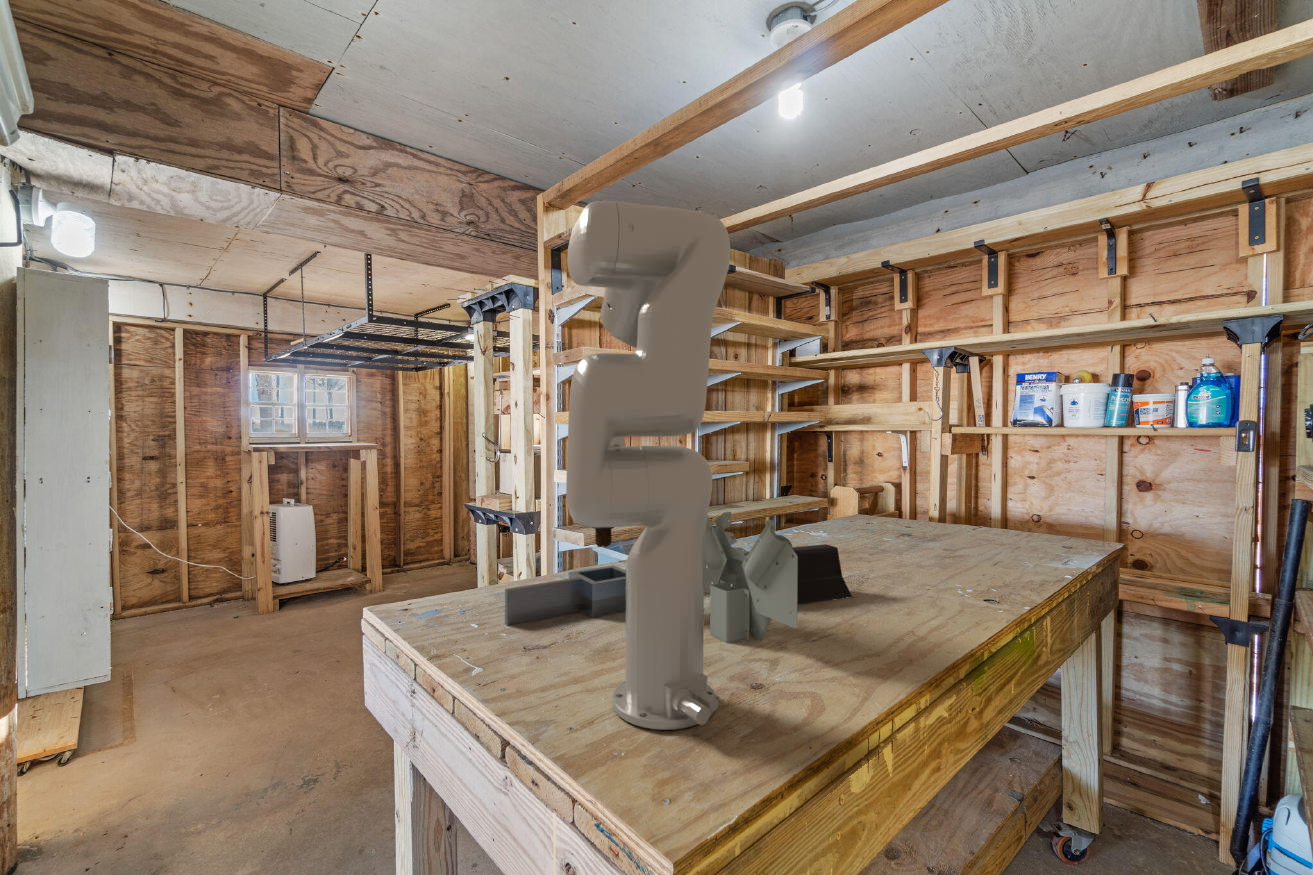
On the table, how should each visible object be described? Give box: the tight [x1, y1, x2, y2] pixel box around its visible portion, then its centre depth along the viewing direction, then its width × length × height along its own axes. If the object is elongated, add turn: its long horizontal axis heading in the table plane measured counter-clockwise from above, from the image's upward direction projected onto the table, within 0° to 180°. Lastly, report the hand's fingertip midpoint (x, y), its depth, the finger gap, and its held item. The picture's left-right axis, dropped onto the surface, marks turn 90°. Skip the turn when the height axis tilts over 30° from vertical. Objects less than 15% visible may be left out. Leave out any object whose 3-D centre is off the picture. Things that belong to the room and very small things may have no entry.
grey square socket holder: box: [504, 564, 626, 626], centre depth 107 cm, size 10×38×6 cm, turn 124°
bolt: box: [591, 527, 615, 548], centre depth 107 cm, size 6×5×15 cm
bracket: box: [704, 511, 798, 644], centre depth 92 cm, size 28×7×20 cm, turn 33°
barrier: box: [744, 543, 853, 606], centre depth 112 cm, size 24×9×10 cm, turn 112°
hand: (603, 523), depth 107 cm, fingers closed on bolt, 4 cm apart
